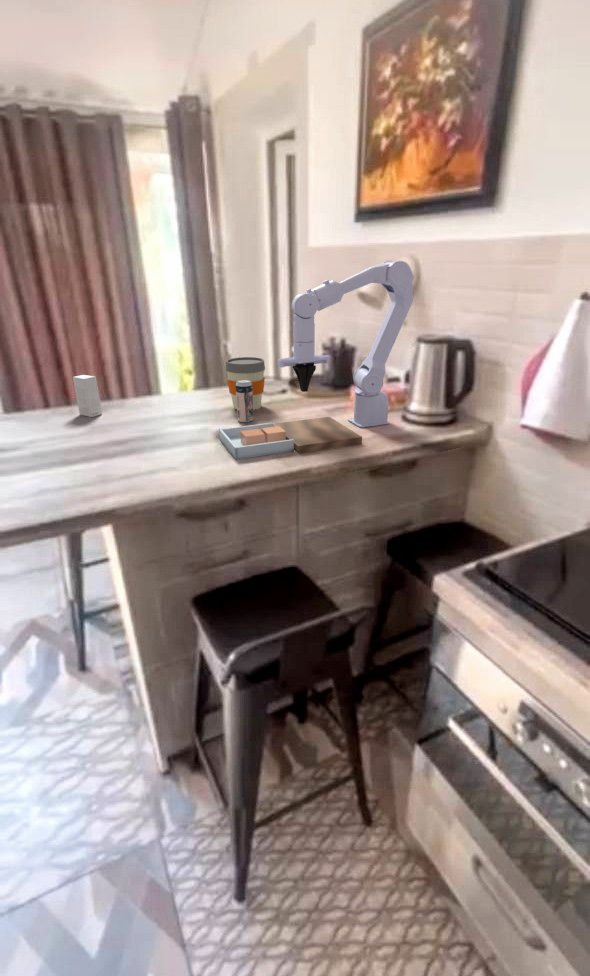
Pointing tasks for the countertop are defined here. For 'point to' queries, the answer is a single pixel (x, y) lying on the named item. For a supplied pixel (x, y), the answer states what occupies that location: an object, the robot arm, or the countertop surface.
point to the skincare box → (87, 395)
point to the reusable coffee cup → (246, 377)
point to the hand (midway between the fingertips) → (304, 390)
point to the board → (319, 434)
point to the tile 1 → (252, 437)
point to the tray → (239, 451)
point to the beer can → (244, 400)
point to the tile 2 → (274, 434)
